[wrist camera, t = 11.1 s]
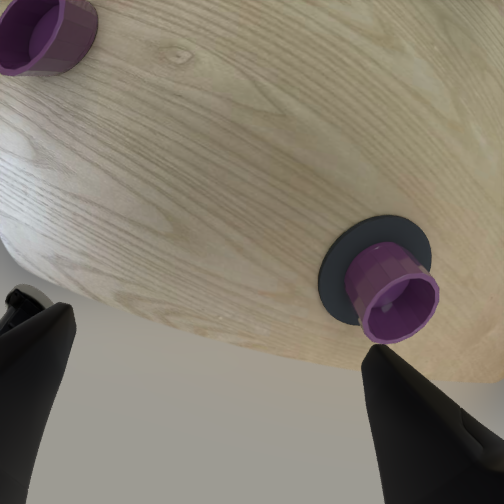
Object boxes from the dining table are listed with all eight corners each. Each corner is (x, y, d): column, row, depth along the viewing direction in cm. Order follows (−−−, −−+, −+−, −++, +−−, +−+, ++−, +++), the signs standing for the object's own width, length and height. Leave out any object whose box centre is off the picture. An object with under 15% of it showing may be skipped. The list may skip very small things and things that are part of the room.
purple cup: (367, 318, 24) (386, 355, 20) (328, 278, 22) (346, 316, 18) (421, 274, 22) (448, 306, 18) (390, 225, 20) (421, 255, 16)
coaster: (359, 338, 26) (361, 342, 25) (291, 276, 22) (292, 280, 22) (443, 270, 23) (446, 273, 22) (394, 187, 19) (397, 189, 19)
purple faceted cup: (59, 91, 15) (20, 93, 11) (18, 53, 13) (-21, 52, 9) (115, 20, 13) (84, 3, 9) (66, -12, 11) (33, -29, 7)
